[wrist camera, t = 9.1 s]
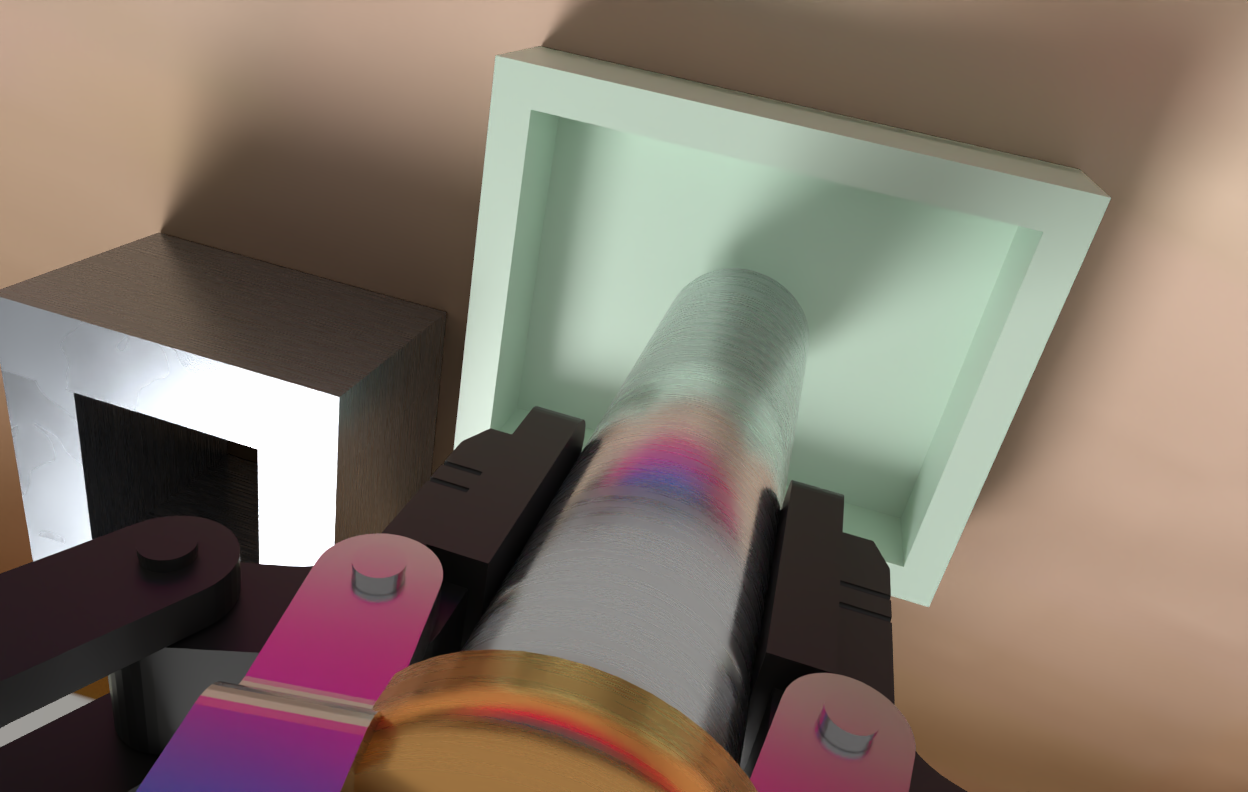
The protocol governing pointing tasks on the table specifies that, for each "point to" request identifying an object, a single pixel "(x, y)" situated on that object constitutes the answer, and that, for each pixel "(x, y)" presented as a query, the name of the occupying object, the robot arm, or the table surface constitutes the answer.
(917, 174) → the tray
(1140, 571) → the table surface
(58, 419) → the socket block
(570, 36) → the table surface
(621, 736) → the pin
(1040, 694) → the table surface
